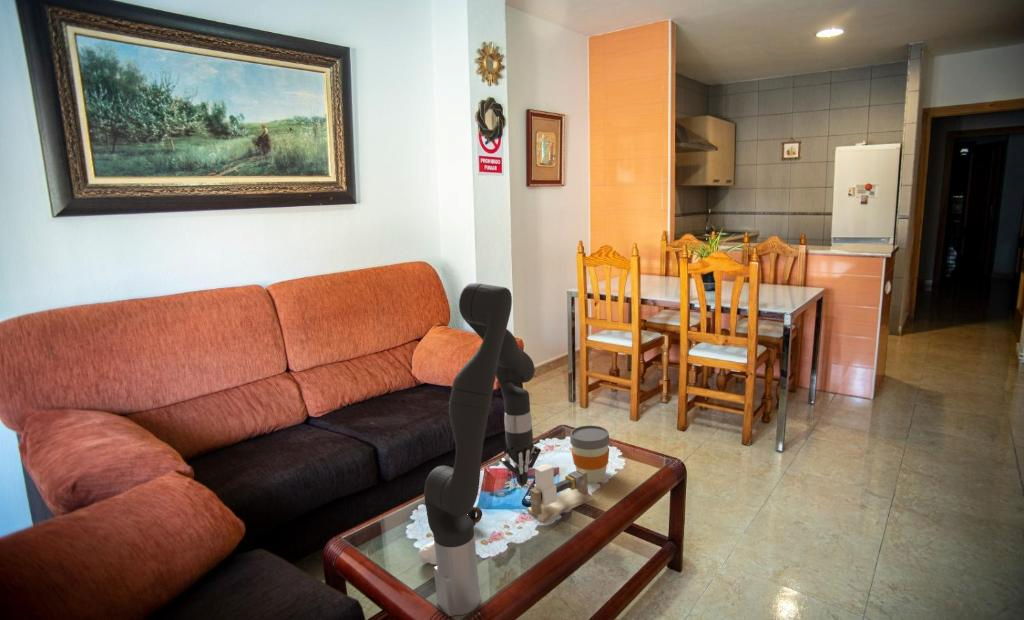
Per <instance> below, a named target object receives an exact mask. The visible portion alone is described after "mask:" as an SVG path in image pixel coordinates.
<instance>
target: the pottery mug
mask: <svg viewBox="0 0 1024 620" xmlns="http://www.w3.org/2000/svg"><path fill="white" fill-rule="evenodd" d="M468 516H469V517H470V518H471V520H472V522H473V525H474V527H475V526H476V524H477V523H479V522H480V521H481V520H482V517H483V510H482V509H481V508H480V507H478V506H473V508H472V509H471V511H470V512H469V513H468Z"/></svg>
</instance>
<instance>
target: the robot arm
mask: <svg viewBox="0 0 1024 620" xmlns="http://www.w3.org/2000/svg"><path fill="white" fill-rule="evenodd" d="M512 304H513V296H512V293H511V291H510V289H509V288H508V287H504V286H498V285H493V284H485V283H478V282H475V283H474V282H473V283H469V284H468V283H467V285H466V286H464V288H463V289H462V290H461V293H460V296H459V300H458V308H459V312H460V315H461V318H462V319H463V320H464V321H465V322H466V324H467V325H468V326H470V328H471V329H472V330H473V331H474V332H475V333H476V334H477V335H478V337H479V338H480V339H481V340H482V342H481V344H480V346H479V347H478V348H477V351H476V352H475V353H474V354H473V355H472V357H470V359H469V360H468V361H467V362H466V363H465V364H464V365H463V366H462V367H461V369H460V370H459V371H458V372H457V374H456V375H455V376H454V379H453V382H452V387H451V391H450V397H449V401H448V416H449V421H450V426H451V430H452V435H453V438H454V442H455V460H454V464H453V467H451V466H448V465H438V466H436V467H435V468H433V469H432V470H431V471H430V472H429V473H428V475H427V478H426V479H425V483H424V491H423V492H424V494H423V495H424V503H425V510H426V516H427V521H428V522H427V524H428V526H429V529H430V532H432V533H433V535H434V537H433V540H434V544H435V554H436V566H435V565H434V567H433V574H434V575H433V576H434V584H435V593H436V603H437V605H438V606H439V607H440V609H442V611H443V612H444V613H445V614H446V615H447V614H448V615H449V616H451V617H453V616H462V615H466V614H469V613H471V612H473V611H474V610H476V608H477V607H478V606H479V604H480V602H481V595H480V594H481V592H480V591H481V590H480V583H479V571H478V559H477V557H478V556H477V550H476V549H477V547H476V538H475V536H476V535H475V526H474V525H473V522H472V520H471V518H470V517H469V516H468V515H467V514H468V513H469V512H470V511H471V509H472V508H473V507H475V505H476V504H475V503H476V501H477V498H478V494H479V489H480V479H481V469H482V459H483V457H482V455H483V449H484V448H483V447H484V442H485V436H486V429H487V425H488V423H487V422H488V418H489V415H490V414H489V413H490V410H491V406H492V399H493V395H494V390H495V389H494V388H495V381H496V379H497V382H498V383H497V384H498V385H499V387H500V391H501V394H502V398H503V406H504V418H503V419H504V432H505V443H506V451H505V453H506V454H505V455H504V457H500V458H499V462H500V463H501V464H502V465H503V466H504V467H505V468H507V470H508V471H510V472H511V473H513V474H514V475H516V476H515V477H516V482H517V484H518V485H520V486H523V487H524V486H525V485H527V484H528V471H529V469H533V468H534V465H535V463H536V462H537V459H538V457H539V456H540V455H541V454H540V453H541V451H542V449H541V447H538V446H536V445H535V444H534V442H533V441H534V434H533V433H534V432H533V418H532V413H531V403H530V402H531V401H530V393H529V391H528V390H527V389H524V388H522V387H518V386H516V385H515V384H514V383H520V384H521V383H529V382H530V381H531V380H532V379H533V377H534V376H535V373H536V371H535V370H536V369H535V364H534V362H533V360H532V358H531V356H530V355H528V353H527V352H525V351H524V350H523V349H522V348H520V346H519V344H518V342H517V339H516V337H515V335H513V333H512V332H511V331H510V330H509V329H508V324H509V320H510V317H511V312H512ZM511 463H513V464H511ZM513 465H514V466H513ZM448 615H447V616H448ZM449 616H448V617H449Z"/></svg>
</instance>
